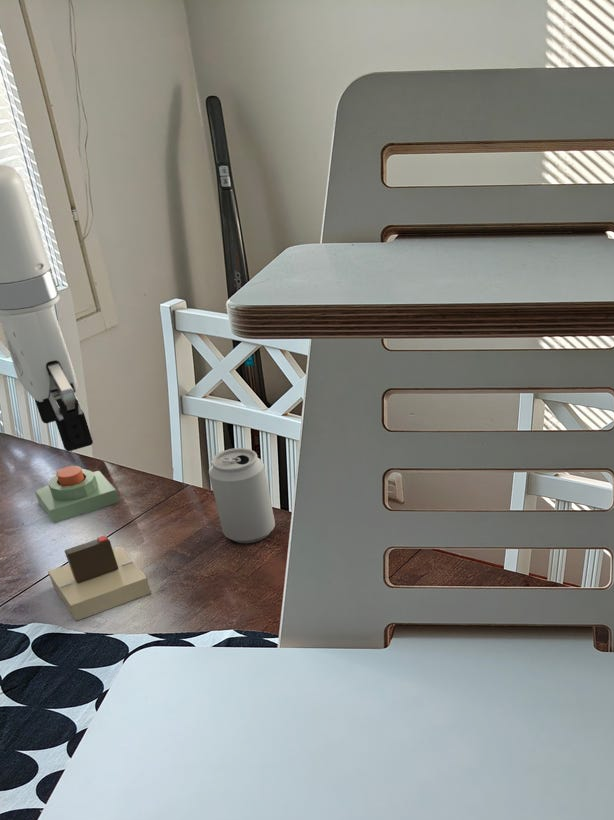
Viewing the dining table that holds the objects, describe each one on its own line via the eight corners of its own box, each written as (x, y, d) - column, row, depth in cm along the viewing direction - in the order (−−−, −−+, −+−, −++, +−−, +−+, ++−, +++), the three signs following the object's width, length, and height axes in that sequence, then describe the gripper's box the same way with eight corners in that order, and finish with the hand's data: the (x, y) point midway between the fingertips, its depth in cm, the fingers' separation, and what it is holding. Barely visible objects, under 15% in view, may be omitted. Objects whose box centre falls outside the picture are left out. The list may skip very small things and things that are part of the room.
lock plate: (76, 621, 125) (70, 604, 123) (53, 586, 132) (47, 570, 130) (151, 593, 129) (146, 576, 128) (125, 561, 136) (120, 544, 134)
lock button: (63, 490, 146) (60, 479, 145) (56, 480, 148) (53, 470, 147) (87, 482, 147) (84, 472, 146) (80, 473, 150) (77, 463, 148)
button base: (53, 523, 145) (45, 500, 142) (38, 502, 150) (30, 479, 148) (119, 502, 149) (112, 479, 147) (102, 482, 155) (95, 459, 152)
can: (281, 538, 139) (266, 462, 132) (228, 551, 137) (210, 474, 130) (270, 514, 145) (255, 440, 137) (219, 525, 143) (202, 451, 135)
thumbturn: (77, 583, 127) (66, 553, 124) (74, 579, 128) (63, 548, 125) (118, 569, 130) (109, 538, 127) (115, 564, 131) (105, 534, 128)
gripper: (-33, 279, 112) (17, 418, 122) (4, 318, 100) (56, 468, 111) (34, 265, 115) (77, 402, 126) (77, 302, 104) (121, 449, 114)
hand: (67, 433), depth 118 cm, fingers open, 9 cm apart
